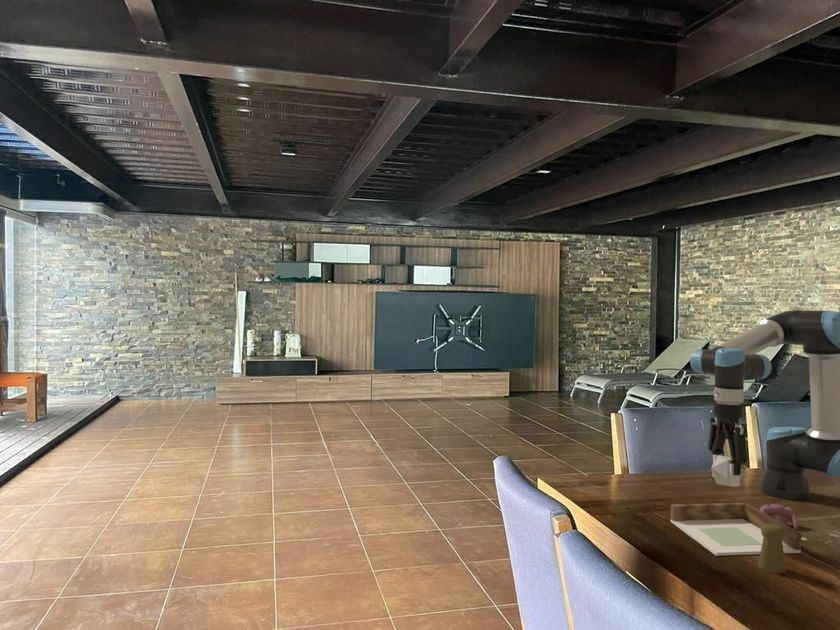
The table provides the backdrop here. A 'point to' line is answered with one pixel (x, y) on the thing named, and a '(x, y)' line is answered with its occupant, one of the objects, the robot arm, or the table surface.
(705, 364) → the robot arm
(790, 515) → the video game controller
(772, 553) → the olive pawn figure
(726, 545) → the wooden corner tray
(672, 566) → the table surface
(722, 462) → the die
